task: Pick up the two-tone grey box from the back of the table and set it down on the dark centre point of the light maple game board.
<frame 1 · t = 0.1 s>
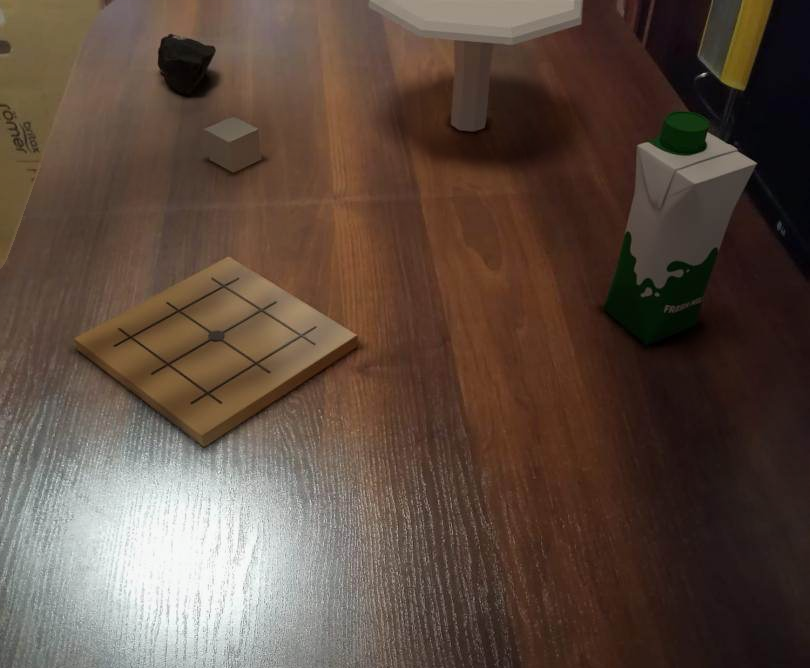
board: (218, 348, 87), on the table
milk carton: (649, 319, 92), on the table
rock: (189, 83, 125), on the table
two-tone grey box: (235, 159, 111), on the table
table 2: (468, 124, 119), on the table
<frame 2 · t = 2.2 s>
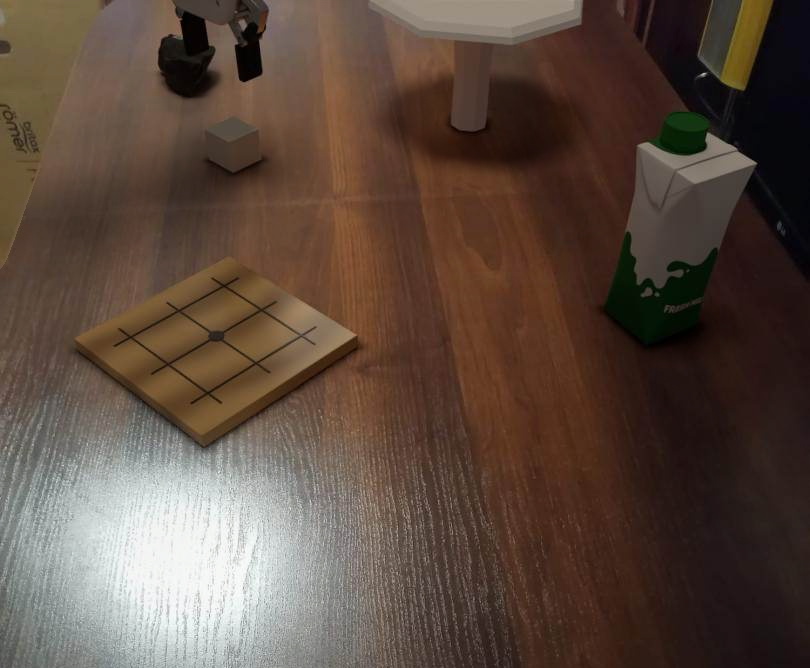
hand: (224, 65, 102), 11 cm above the table, tool pointing down, fingers open, 9 cm apart
nothing on the table moved.
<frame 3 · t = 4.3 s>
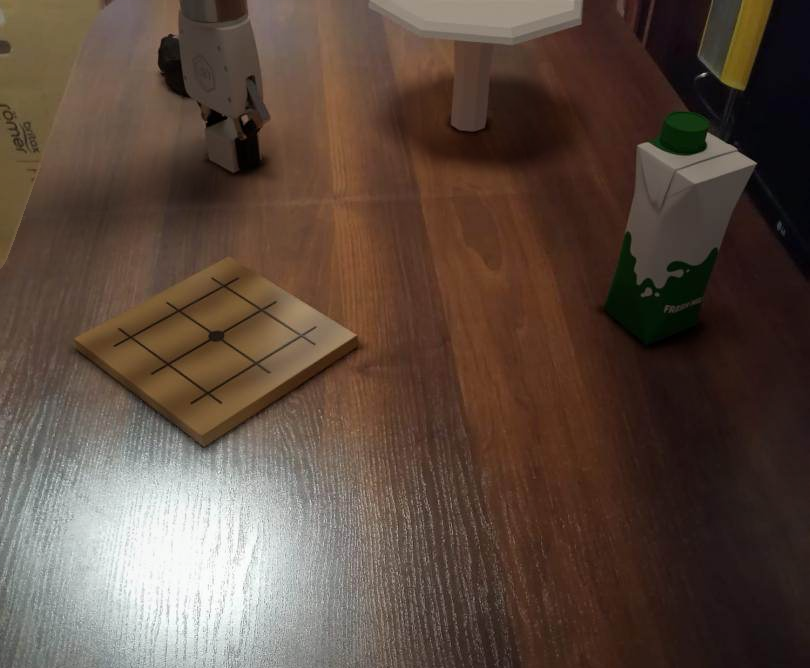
hand: (235, 156, 111), 0 cm above the table, tool pointing down, fingers closed on two-tone grey box, 4 cm apart
two-tone grey box: (235, 159, 111), on the table, touching gripper
everything else where it was.
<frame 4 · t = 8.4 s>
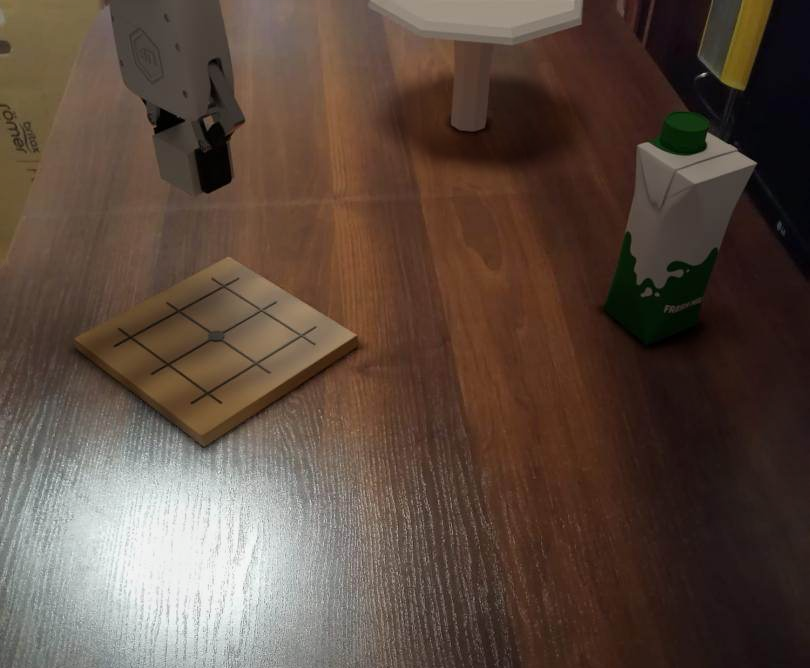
hand: (196, 174, 79), 15 cm above the table, tool pointing down, fingers closed on two-tone grey box, 4 cm apart
two-tone grey box: (197, 178, 79), point 15 cm above the table, touching gripper
everything else where it was.
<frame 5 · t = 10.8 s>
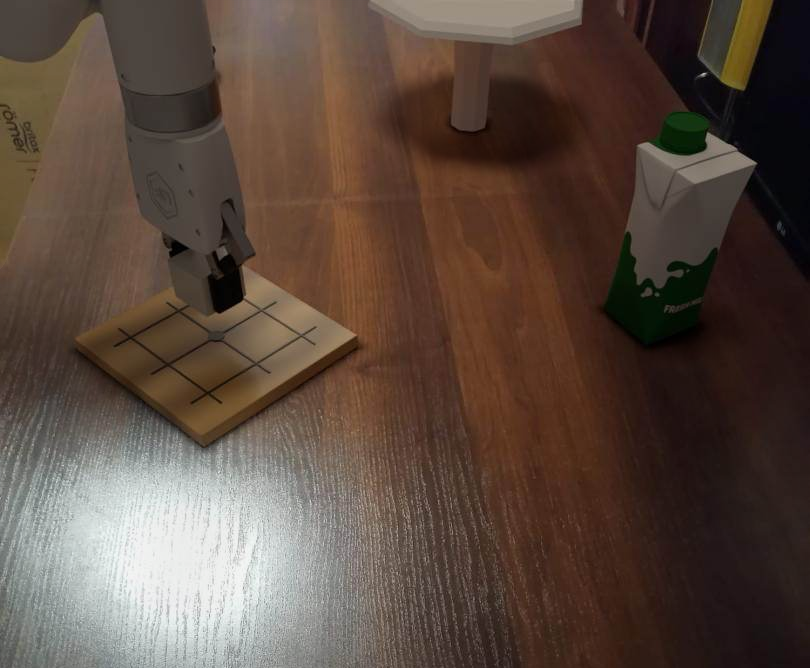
hand: (209, 292, 82), 7 cm above the table, tool pointing down, fingers closed on two-tone grey box, 4 cm apart
two-tone grey box: (211, 295, 82), point 6 cm above the table, touching gripper
everything else where it was.
when the fingers open (2 cm above the table, at t = 12.7 s): two-tone grey box stays where it is, resting on board.
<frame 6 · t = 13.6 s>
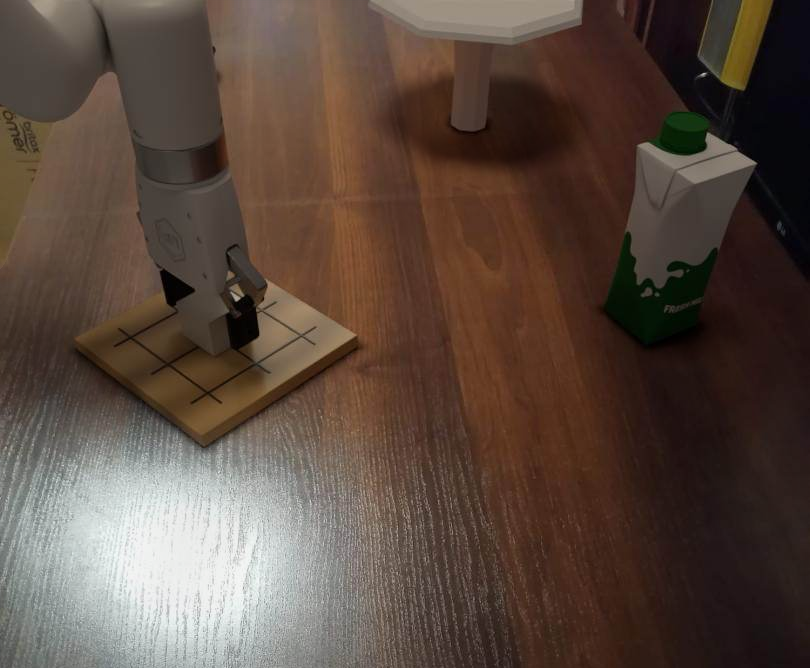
hand: (212, 320, 85), 3 cm above the table, tool pointing down, fingers open, 9 cm apart
two-tone grey box: (217, 335, 86), point 2 cm above the table, touching board
everything else where it was.
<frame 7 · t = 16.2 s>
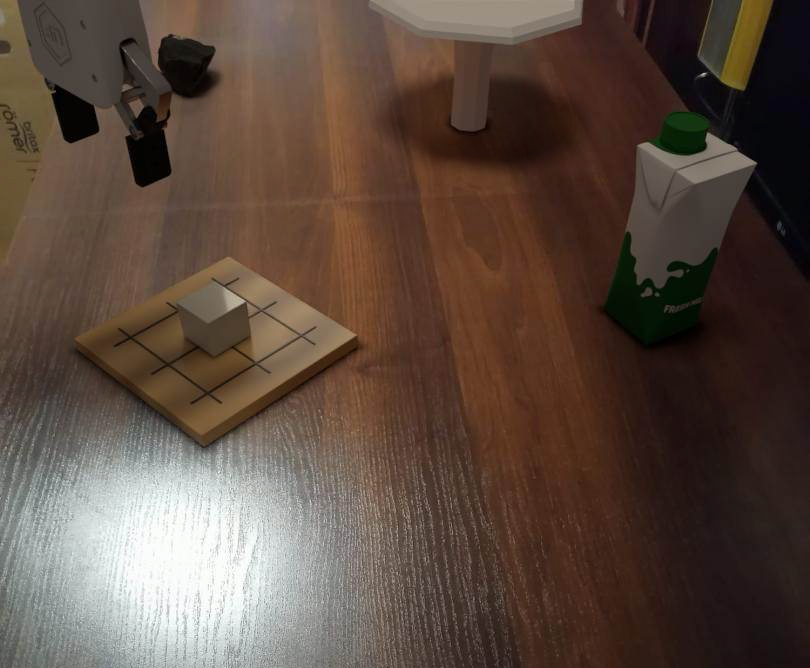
hand: (117, 158, 71), 20 cm above the table, tool pointing down, fingers open, 9 cm apart
nothing on the table moved.
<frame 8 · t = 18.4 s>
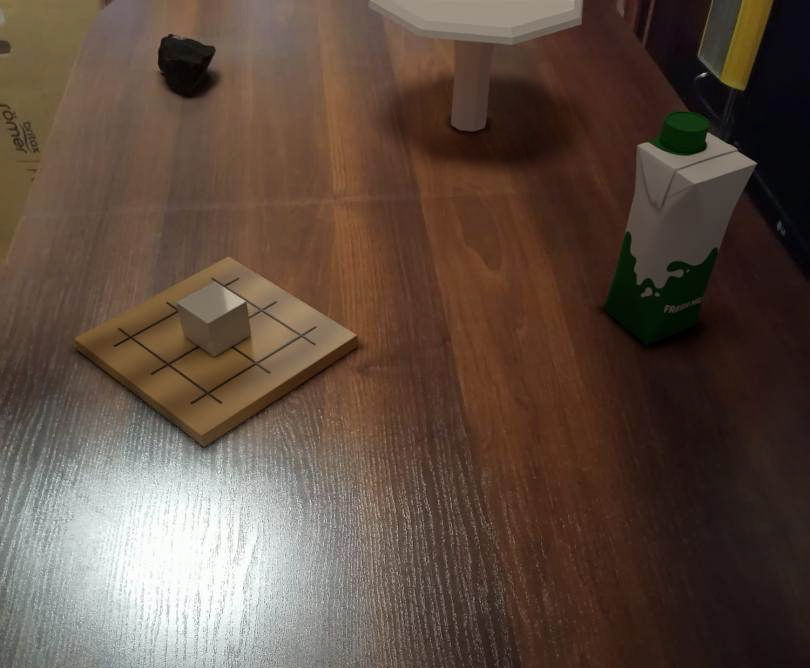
nothing on the table moved.
at the end: two-tone grey box 0.1 cm off-centre on the board, point 1.6 cm above the board's base; two-tone grey box tilted 0°; the gripper is holding nothing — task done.
